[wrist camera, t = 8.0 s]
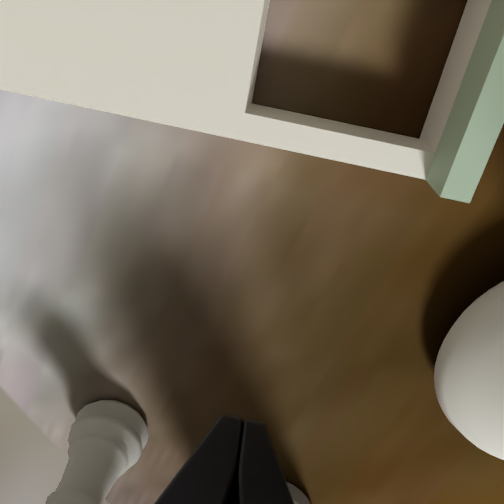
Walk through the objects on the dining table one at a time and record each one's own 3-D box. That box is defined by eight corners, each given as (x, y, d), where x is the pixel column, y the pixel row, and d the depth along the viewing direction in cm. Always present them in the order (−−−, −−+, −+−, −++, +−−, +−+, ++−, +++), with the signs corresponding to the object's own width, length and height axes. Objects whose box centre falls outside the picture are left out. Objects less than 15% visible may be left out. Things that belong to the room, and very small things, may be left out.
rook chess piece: (113, 459, 29) (50, 600, 22) (63, 413, 28) (-21, 546, 20) (166, 433, 28) (118, 575, 20) (116, 383, 26) (46, 516, 19)
